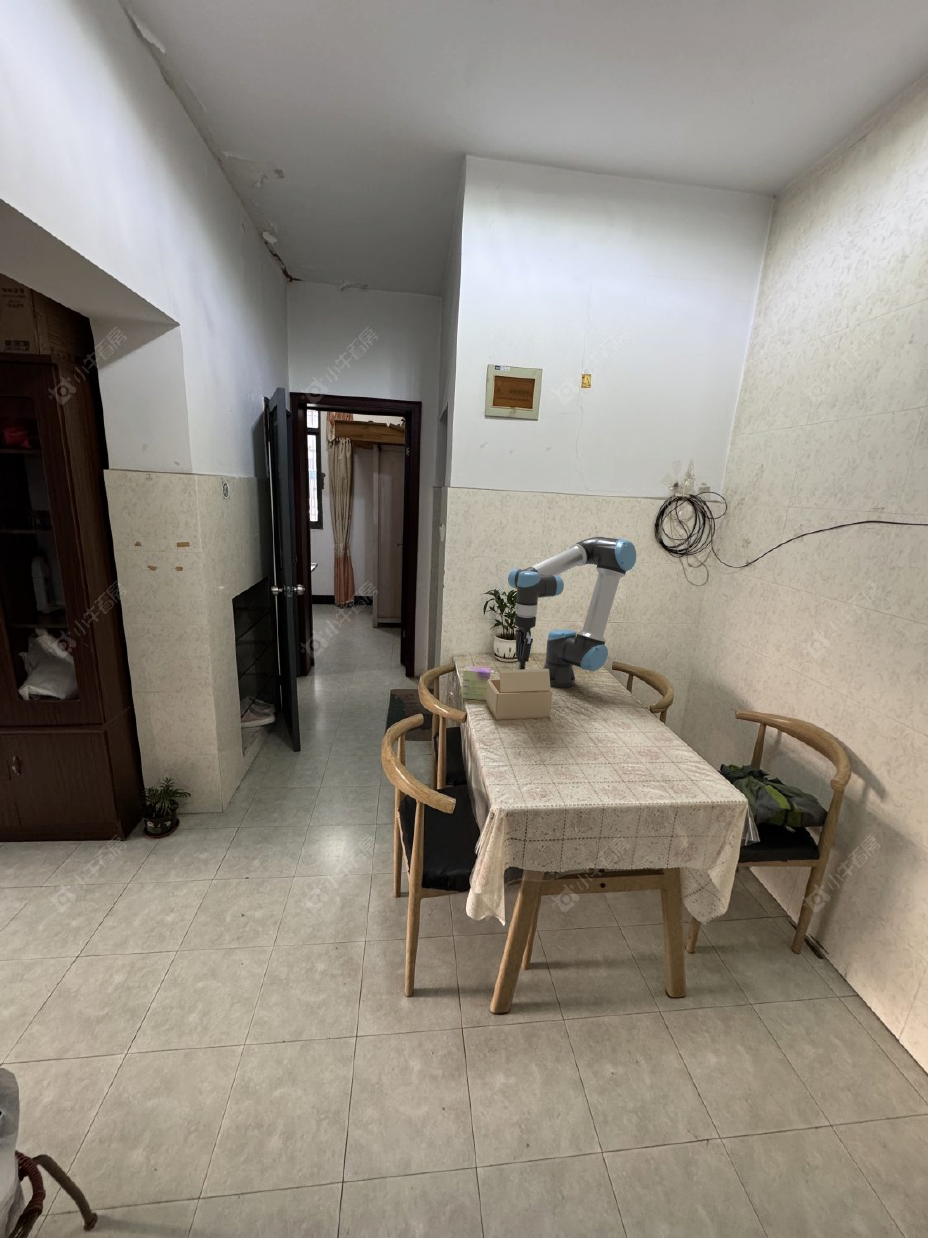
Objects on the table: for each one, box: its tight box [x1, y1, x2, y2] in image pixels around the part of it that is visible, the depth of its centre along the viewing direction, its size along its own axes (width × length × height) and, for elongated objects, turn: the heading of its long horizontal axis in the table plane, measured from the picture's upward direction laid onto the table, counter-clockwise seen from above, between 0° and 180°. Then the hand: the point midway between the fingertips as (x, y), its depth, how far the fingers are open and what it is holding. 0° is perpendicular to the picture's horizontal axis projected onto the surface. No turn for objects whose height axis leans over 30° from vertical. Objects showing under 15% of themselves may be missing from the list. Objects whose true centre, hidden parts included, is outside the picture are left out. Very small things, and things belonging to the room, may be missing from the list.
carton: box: [486, 678, 553, 721], centre depth 187 cm, size 21×14×10 cm
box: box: [461, 665, 491, 702], centre depth 197 cm, size 10×6×12 cm, turn 84°
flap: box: [499, 668, 552, 692], centre depth 179 cm, size 19×8×1 cm
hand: (520, 677), depth 184 cm, fingers closed
